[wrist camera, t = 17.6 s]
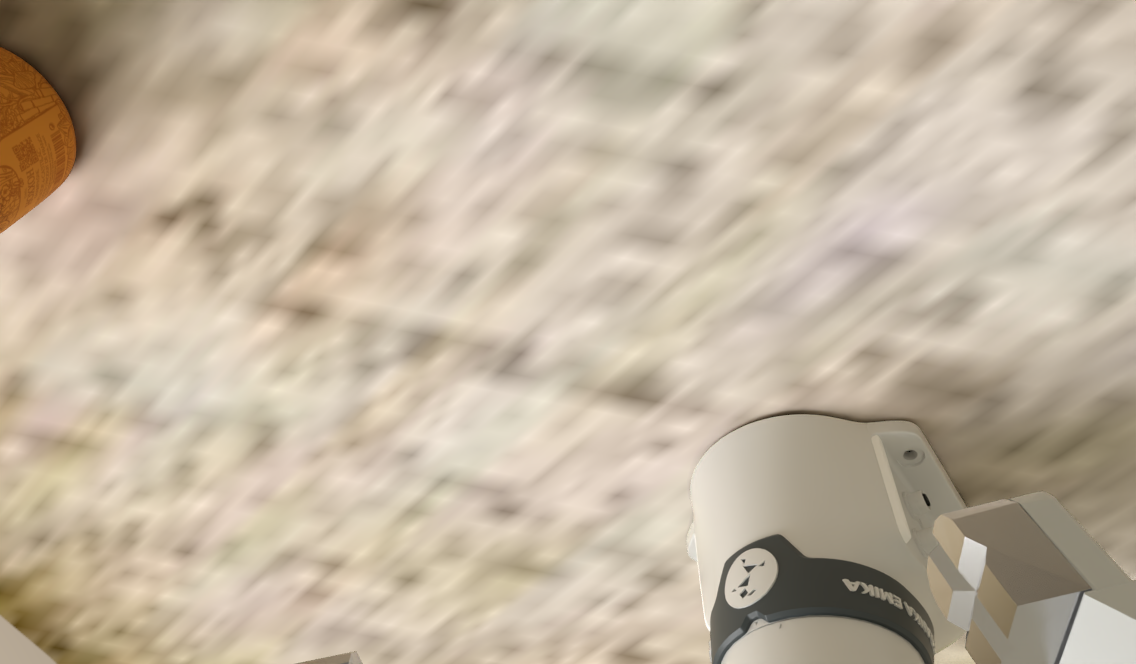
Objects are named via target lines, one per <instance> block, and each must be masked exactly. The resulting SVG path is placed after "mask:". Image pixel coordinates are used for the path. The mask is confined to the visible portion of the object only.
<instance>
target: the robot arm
mask: <svg viewBox="0 0 1136 664" xmlns="http://www.w3.org/2000/svg"><path fill="white" fill-rule="evenodd" d="M909 450H913V451H911V452H906V451H909ZM690 498H691V504H692V509H693V522H692V524H691V527H690V529H689V532H688V535H687V539H686V544H687V552H688V555H689V556H690V558H691V559H693V560H694V561H696V562H698V570H699V579H700V587H701V595H702V603H703V610H704V618H705V623H706V626H707V628H708V629H709V631H710V638H711V640H709V654H710V661H711V663H712V664H934V654H936V653H938V652H940V651H942V650H943V649H945V648H947V647H948V646H950V645H951V644H953V643H954V642H956V641H957V640H958V639H959V638H960V637H961V636H962V635H964V633H965V632H966V631H967V634H966V645H965V648H966V650H967V651H968V653H969V654H970V656H971V657H972V659H973V660H974V662H975V663H976V664H1136V580H1131V579H1130V578H1129V577H1128V576H1127V575H1126V574H1125V573H1124V571H1123V570H1122V569H1121V568H1120V567H1119V566H1118V565H1117V564H1116V563H1115V562H1114V561H1113V560H1112V559H1111V557H1110V556H1109V555H1108V554H1107V553H1106V552H1105V551H1104V550H1103V549H1102V548H1101V547H1100V546H1099V545H1098V543H1097V542H1096V541H1095V540H1094V539H1093V538H1092V537H1091V536H1090V535H1089V534H1088V533H1087V532H1086V531H1085V529H1084V528H1083V527H1082V526H1081V525H1080V524H1079V523H1078V522H1077V521H1076V520H1075V519H1074V518H1073V517H1072V515H1071V514H1070V513H1069V512H1068V511H1067V510H1066V509H1065V508H1064V507H1063V506H1062V505H1061V504H1060V503H1059V501H1058V500H1057V499H1056V498H1055V497H1054V496H1053V495H1051V494H1049V493H1047V492H1045V491H1040V492H1035V493H1030V494H1026V495H1022V496H1018V497H1014V498H1010V499H1007V500H1006V499H1001V500H997V501H993V502H989V503H985V504H981V505H977V506H973V507H969V508H967V507H966V505H965V503H964V502H963V500H962V498H961V497H960V495H959V493H958V491H957V490H956V488H955V486H954V485H953V483H952V481H951V480H950V478H949V476H948V475H947V473H946V471H945V470H944V468H943V466H942V465H941V463H940V461H939V459H938V458H937V456H936V454H935V453H934V451H933V449H932V448H931V446H930V444H929V443H928V441H927V439H926V438H925V436H924V434H923V432H922V431H921V429H920V428H919V427H918V426H917V425H916V424H914V423H912V422H908V421H881V422H870V423H860V422H853V421H848V420H844V419H839V418H834V417H829V416H822V415H809V414H796V415H784V416H777V417H771V418H767V419H763V420H759V421H756V422H753V423H750V424H748V425H745V426H743V427H741V428H738V429H736V430H734V431H733V432H731V433H729V434H727V435H726V436H724V437H723V438H721V439H720V440H719V441H718V442H716V443H715V444H714V445H713V446H712V447H711V448H710V449H709V450H708V451H707V452H706V453H705V454H704V455H703V457H702V458H701V460H700V461H699V463H698V464H697V466H696V468H695V470H694V473H693V476H692V479H691V485H690ZM296 664H363V663H362V661H361V659H360V657H359V656H358V654H357V652H356V651H354V652H349V653H344V654H339V655H335V656H330V657H325V658H320V659H315V660H311V661H306V662H301V663H296Z"/></svg>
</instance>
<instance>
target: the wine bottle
mask: <svg viewBox="0 0 1136 664" xmlns="http://www.w3.org/2000/svg"><path fill="white" fill-rule="evenodd" d="M75 156H76V137H75V131H74V127H73V124H72V121H71V118H70V116H69V113H68V111H67V109H66V107H65V105H64V103H63V102H62V100H61V99H60V97H59V96H58V94H57V93H56V91H55V90H54V89H53V87H52V86H51V85H50V84H49V83H48V82H47V80H46V79H45V78H44V77H43V76H42V75H41V74H40V73H39V72H38V71H36V70H35V69H34V68H33V67H32V66H31V65H29V64H28V63H27V62H25V61H24V60H23V59H21V58H20V57H18V56H16V55H15V54H13V53H11V52H10V51H8V50H6V49H4V48H2V47H0V233H2V232H3V231H4V230H6V229H7V228H8V227H10V226H11V225H12V224H14V223H15V222H16V221H18V220H19V219H20V218H22V217H23V216H24V215H26V214H27V213H28V212H29V211H31V210H32V209H33V208H35V207H36V206H37V205H38V204H40V203H41V202H42V201H43V200H45V199H46V198H47V197H48V196H49V195H51V194H52V193H53V192H54V191H55V190H56V189H57V188H58V187H59V186H60V185H61V184H62V183H63V182H64V181H65V180H66V178H67V177H68V175H69V174H70V172H71V170H72V168H73V165H74V161H75Z"/></svg>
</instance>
